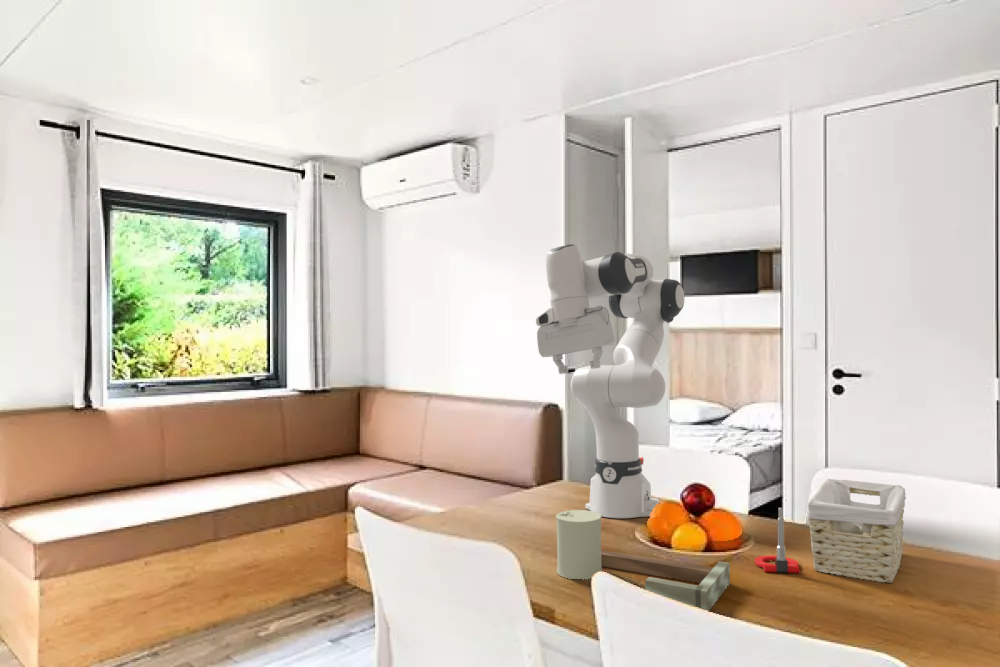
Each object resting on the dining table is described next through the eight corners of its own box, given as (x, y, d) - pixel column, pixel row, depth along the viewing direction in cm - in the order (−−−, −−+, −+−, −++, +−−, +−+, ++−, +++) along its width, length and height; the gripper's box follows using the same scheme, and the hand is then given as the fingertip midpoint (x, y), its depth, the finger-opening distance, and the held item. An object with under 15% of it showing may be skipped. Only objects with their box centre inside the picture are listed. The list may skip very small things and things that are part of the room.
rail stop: (586, 559, 153) (585, 540, 153) (729, 583, 137) (729, 562, 137) (551, 584, 139) (550, 563, 139) (706, 614, 123) (706, 591, 123)
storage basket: (897, 589, 134) (896, 510, 133) (804, 573, 143) (803, 499, 143) (907, 553, 154) (907, 485, 153) (825, 541, 163) (825, 477, 162)
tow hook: (751, 560, 152) (760, 573, 143) (750, 498, 152) (759, 508, 143) (792, 561, 151) (804, 575, 142) (792, 500, 151) (803, 509, 142)
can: (563, 562, 151) (562, 506, 151) (606, 567, 148) (605, 509, 148) (551, 577, 142) (550, 517, 142) (597, 582, 139) (596, 521, 139)
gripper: (615, 304, 163) (624, 364, 162) (547, 320, 177) (554, 375, 176) (598, 303, 159) (607, 365, 157) (530, 320, 173) (538, 377, 171)
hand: (579, 371), depth 166 cm, fingers open, 8 cm apart
